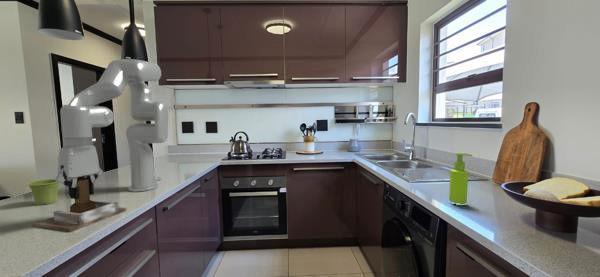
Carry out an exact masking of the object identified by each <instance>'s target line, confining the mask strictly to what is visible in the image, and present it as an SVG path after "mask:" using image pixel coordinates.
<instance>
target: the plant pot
mask: <svg viewBox="0 0 600 277" xmlns="http://www.w3.org/2000/svg"><path fill="white" fill-rule="evenodd" d="M55 179H56V178H51V179H42V180H37V181H31V182H29V183H27V186H29V188H30V189H31V193H32V196H33V200H34V202H35V203H34V204H35V205H36V206H43V205H45V204H46V205H47V204H48V205H49V204H54V203H56V202H57V201H58V194H59V186H60V184H61V183H59V182H56V181H55Z"/></svg>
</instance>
